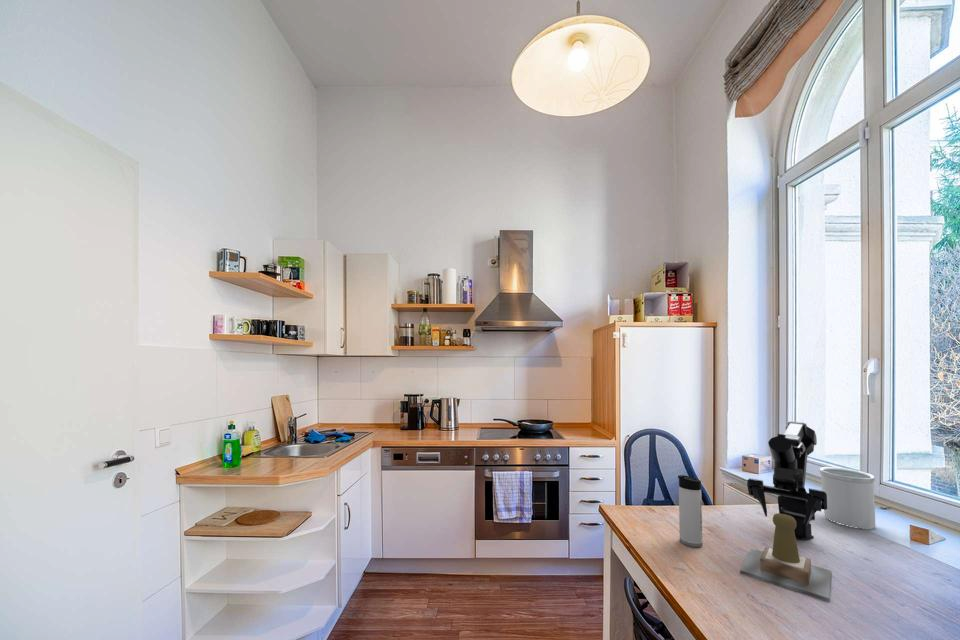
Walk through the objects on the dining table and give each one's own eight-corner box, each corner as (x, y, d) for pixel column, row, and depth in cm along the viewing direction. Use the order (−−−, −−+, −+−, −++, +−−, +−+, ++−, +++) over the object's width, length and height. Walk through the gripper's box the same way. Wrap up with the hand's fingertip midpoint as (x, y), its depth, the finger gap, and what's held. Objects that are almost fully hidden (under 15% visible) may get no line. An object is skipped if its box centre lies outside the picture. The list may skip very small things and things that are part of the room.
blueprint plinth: (740, 573, 108) (739, 557, 108) (751, 551, 121) (751, 537, 121) (829, 601, 96) (828, 583, 96) (831, 573, 109) (830, 557, 110)
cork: (802, 565, 105) (800, 521, 106) (773, 559, 108) (772, 516, 109) (797, 556, 110) (796, 513, 111) (770, 550, 113) (769, 509, 114)
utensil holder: (866, 533, 137) (863, 479, 139) (814, 517, 150) (811, 468, 152) (885, 526, 144) (882, 475, 145) (833, 511, 157) (831, 465, 159)
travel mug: (674, 538, 128) (673, 473, 130) (694, 538, 129) (693, 473, 131) (686, 547, 122) (684, 479, 124) (707, 547, 122) (705, 479, 124)
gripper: (746, 451, 127) (743, 496, 117) (824, 462, 115) (828, 513, 106) (750, 472, 132) (747, 517, 123) (825, 484, 121) (829, 535, 111)
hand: (785, 520), depth 115 cm, fingers open, 9 cm apart
